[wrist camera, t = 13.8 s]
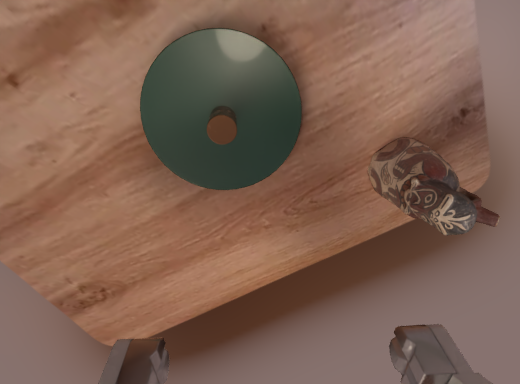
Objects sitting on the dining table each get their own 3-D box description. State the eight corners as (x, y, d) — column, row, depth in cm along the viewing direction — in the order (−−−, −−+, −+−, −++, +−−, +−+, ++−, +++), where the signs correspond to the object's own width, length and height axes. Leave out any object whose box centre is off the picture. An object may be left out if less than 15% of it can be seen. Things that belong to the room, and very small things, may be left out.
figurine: (379, 133, 32) (452, 179, 22) (438, 140, 33) (535, 188, 23) (360, 191, 35) (415, 256, 25) (414, 196, 36) (490, 261, 26)
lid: (305, 30, 27) (320, 28, 22) (294, 183, 34) (303, 206, 29) (129, 26, 26) (107, 23, 21) (155, 187, 33) (143, 211, 28)
